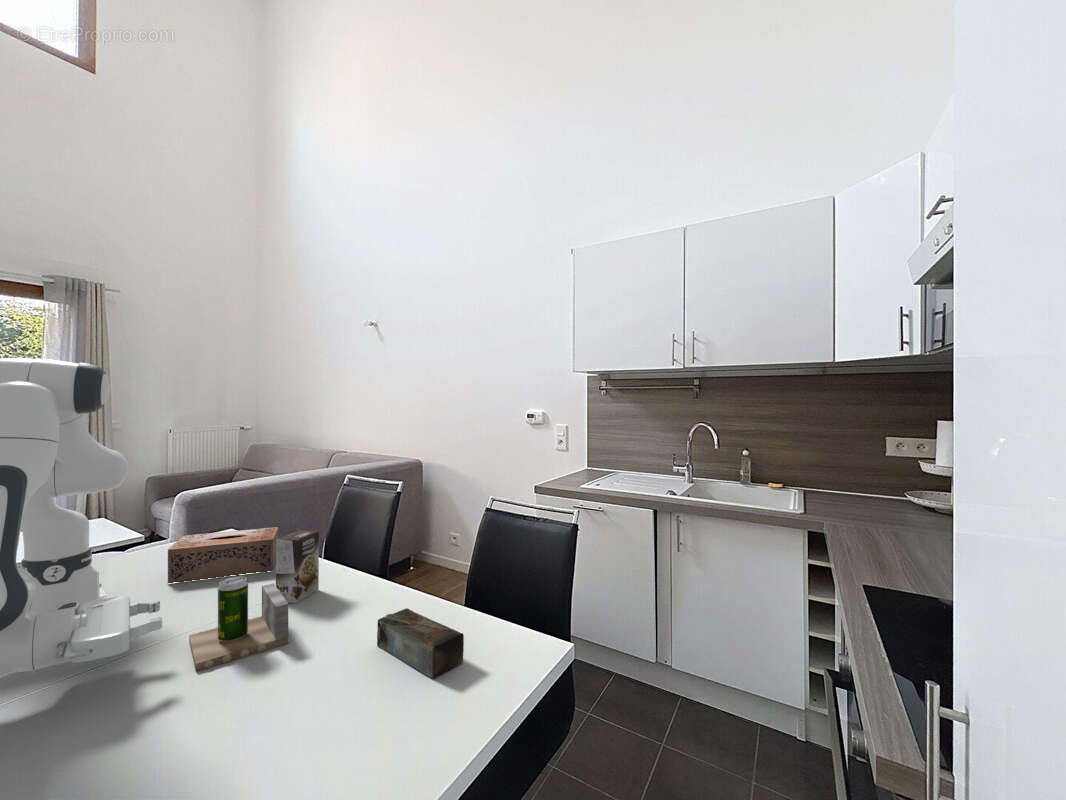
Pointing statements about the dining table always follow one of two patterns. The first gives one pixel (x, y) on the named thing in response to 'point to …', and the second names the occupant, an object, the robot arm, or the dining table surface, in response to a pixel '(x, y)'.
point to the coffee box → (297, 565)
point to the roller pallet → (258, 638)
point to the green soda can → (232, 609)
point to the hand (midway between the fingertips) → (161, 613)
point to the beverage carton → (420, 642)
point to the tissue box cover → (222, 554)
